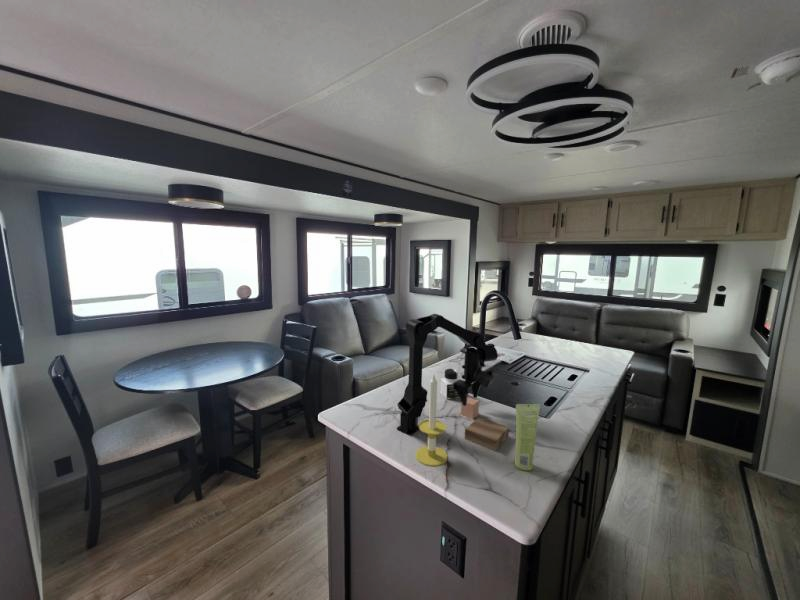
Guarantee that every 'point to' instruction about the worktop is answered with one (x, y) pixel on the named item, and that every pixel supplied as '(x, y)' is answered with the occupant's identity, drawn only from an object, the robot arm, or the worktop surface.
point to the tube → (526, 434)
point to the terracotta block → (470, 408)
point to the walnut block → (487, 433)
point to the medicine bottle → (449, 384)
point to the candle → (432, 433)
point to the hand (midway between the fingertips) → (470, 401)
